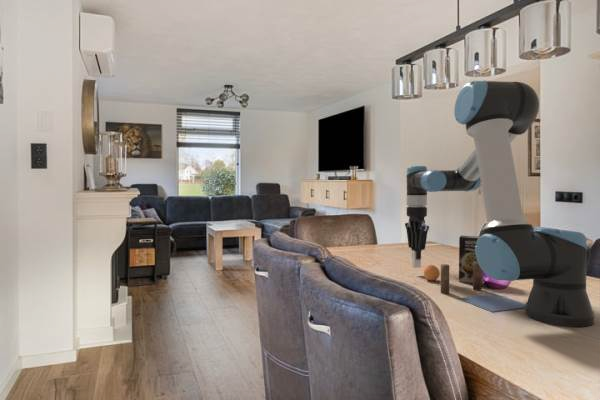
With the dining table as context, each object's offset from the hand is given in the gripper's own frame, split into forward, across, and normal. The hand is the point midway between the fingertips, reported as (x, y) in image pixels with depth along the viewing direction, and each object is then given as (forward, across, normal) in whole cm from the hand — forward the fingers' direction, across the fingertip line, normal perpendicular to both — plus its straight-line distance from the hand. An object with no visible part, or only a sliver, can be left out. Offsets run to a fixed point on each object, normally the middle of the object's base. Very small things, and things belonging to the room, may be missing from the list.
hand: (416, 267), depth 157 cm
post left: (+3, -26, +6) cm, 27 cm away
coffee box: (+3, -16, -13) cm, 21 cm away
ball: (0, -10, 0) cm, 10 cm away
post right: (+3, -26, -6) cm, 27 cm away
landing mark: (+3, -40, 0) cm, 40 cm away
